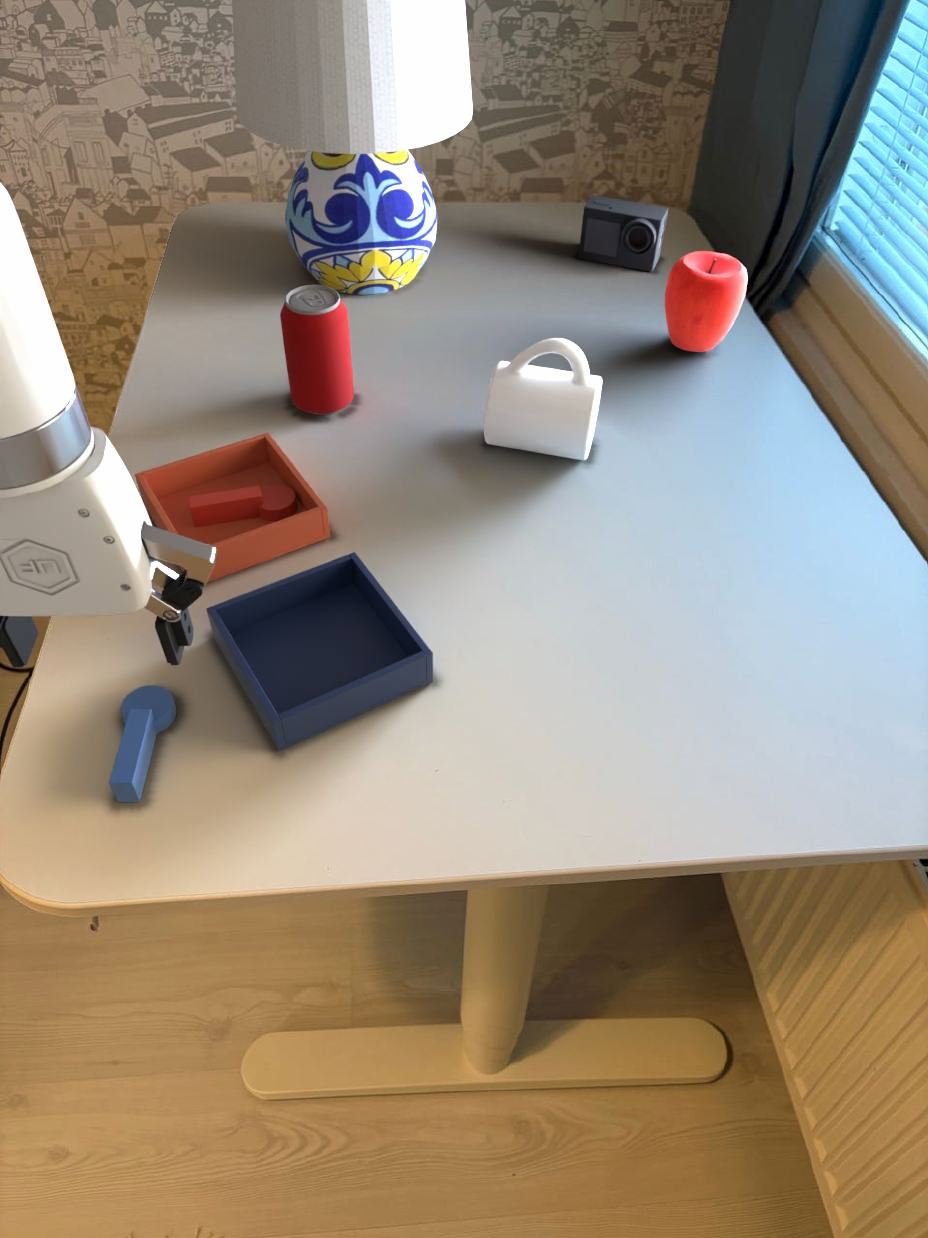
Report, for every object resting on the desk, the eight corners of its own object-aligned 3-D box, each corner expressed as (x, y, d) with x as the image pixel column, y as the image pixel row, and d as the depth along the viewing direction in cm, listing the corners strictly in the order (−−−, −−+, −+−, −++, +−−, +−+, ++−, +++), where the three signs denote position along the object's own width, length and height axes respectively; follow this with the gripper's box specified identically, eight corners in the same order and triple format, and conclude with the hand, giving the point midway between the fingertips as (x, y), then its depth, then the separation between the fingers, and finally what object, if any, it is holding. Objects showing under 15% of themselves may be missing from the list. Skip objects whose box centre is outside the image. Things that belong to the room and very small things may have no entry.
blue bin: (279, 752, 67) (273, 723, 65) (213, 637, 75) (205, 608, 72) (433, 681, 72) (433, 652, 70) (357, 580, 80) (354, 551, 77)
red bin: (192, 588, 79) (184, 558, 76) (143, 503, 86) (134, 473, 84) (330, 537, 84) (327, 507, 81) (272, 460, 91) (268, 431, 89)
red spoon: (196, 535, 83) (190, 515, 81) (192, 509, 85) (187, 489, 83) (300, 517, 85) (297, 497, 83) (293, 492, 87) (290, 472, 85)
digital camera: (574, 261, 123) (580, 209, 117) (585, 245, 126) (591, 193, 121) (650, 276, 120) (660, 223, 115) (659, 258, 124) (668, 206, 119)
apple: (675, 371, 104) (695, 281, 97) (642, 333, 110) (658, 245, 102) (743, 359, 107) (768, 270, 99) (707, 323, 112) (727, 236, 104)
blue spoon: (156, 801, 64) (148, 783, 63) (101, 802, 64) (92, 783, 62) (180, 695, 71) (174, 676, 69) (131, 696, 71) (123, 676, 69)
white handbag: (499, 414, 98) (506, 310, 89) (595, 430, 96) (611, 326, 87) (481, 459, 92) (487, 353, 83) (582, 477, 91) (598, 370, 82)
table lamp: (270, 331, 108) (209, -90, 79) (251, 232, 126) (197, -142, 97) (490, 310, 113) (511, -95, 84) (443, 217, 131) (446, -143, 102)
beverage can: (337, 378, 102) (328, 275, 93) (365, 408, 98) (358, 304, 89) (281, 394, 99) (266, 290, 90) (307, 426, 95) (294, 321, 87)
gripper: (-201, 477, 43) (-55, 698, 56) (168, 474, 44) (230, 693, 56) (-135, 387, 48) (-15, 608, 61) (194, 386, 49) (246, 605, 61)
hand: (103, 649), depth 59 cm, fingers open, 9 cm apart
